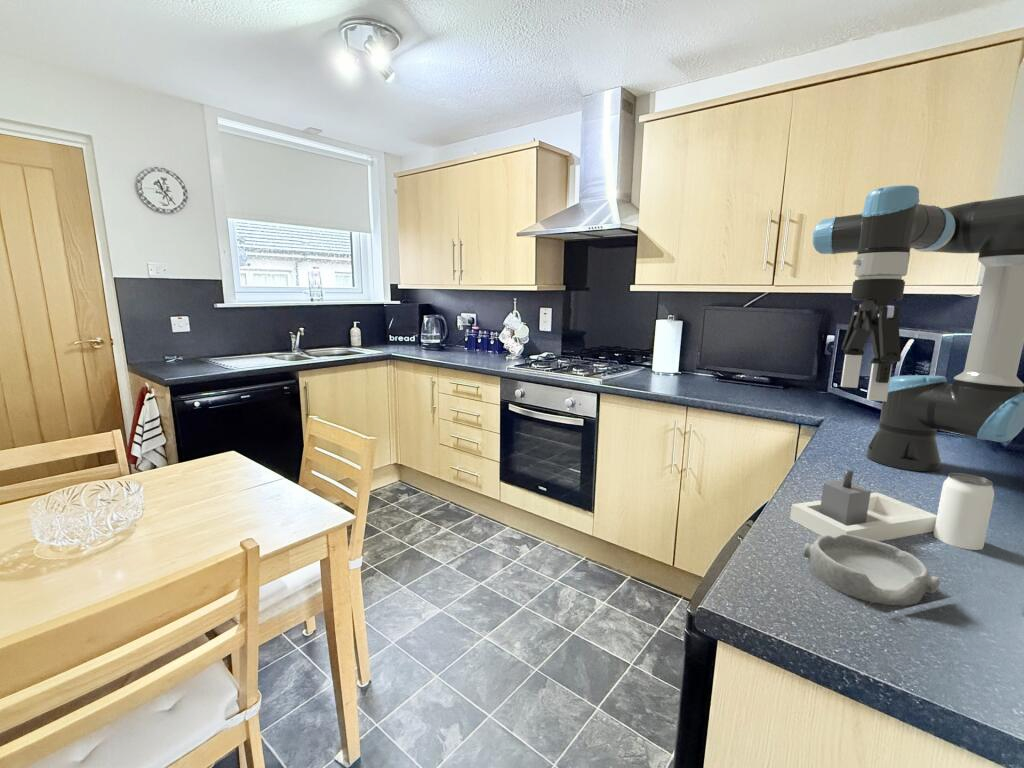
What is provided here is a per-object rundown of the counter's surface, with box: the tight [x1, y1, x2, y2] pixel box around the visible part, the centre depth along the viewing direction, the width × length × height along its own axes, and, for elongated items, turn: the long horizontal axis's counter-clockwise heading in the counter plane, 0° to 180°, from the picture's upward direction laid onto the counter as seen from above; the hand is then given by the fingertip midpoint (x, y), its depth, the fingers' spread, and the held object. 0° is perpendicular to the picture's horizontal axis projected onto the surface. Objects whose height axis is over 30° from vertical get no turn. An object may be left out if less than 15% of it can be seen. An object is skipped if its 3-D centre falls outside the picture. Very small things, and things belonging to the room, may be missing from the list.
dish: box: [802, 534, 941, 606], centre depth 72 cm, size 14×14×5 cm
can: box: [933, 472, 995, 551], centre depth 83 cm, size 6×6×12 cm
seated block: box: [820, 469, 872, 526], centre depth 87 cm, size 5×5×11 cm
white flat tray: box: [789, 491, 937, 542], centre depth 89 cm, size 22×11×4 cm, turn 107°
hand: (861, 393), depth 90 cm, fingers open, 13 cm apart
